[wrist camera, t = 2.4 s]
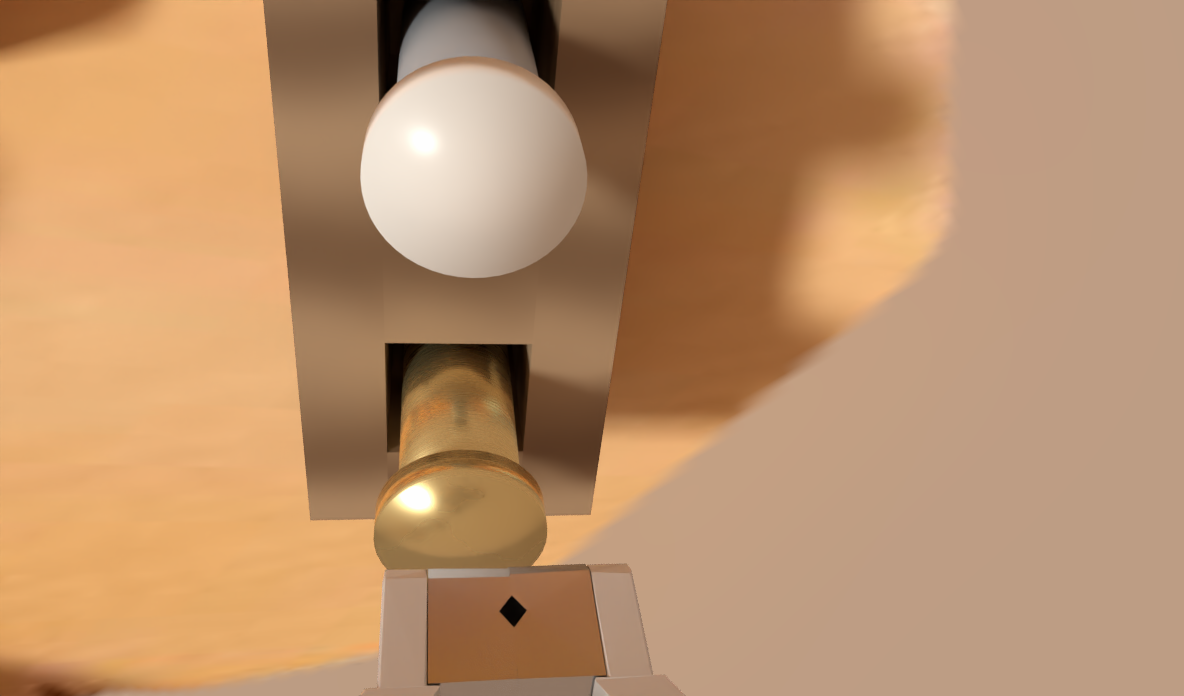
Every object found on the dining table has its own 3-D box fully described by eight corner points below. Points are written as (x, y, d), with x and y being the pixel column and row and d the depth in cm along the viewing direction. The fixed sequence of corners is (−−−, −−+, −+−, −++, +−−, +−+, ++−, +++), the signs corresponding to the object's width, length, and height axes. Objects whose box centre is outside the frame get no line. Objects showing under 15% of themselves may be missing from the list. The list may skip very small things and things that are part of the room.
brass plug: (517, 381, 37) (540, 591, 29) (388, 380, 36) (375, 596, 28) (526, 273, 34) (554, 474, 26) (386, 270, 34) (371, 476, 26)
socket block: (567, 379, 43) (590, 514, 36) (329, 378, 41) (310, 520, 35) (633, -192, 30) (687, -136, 23) (289, -227, 28) (246, -177, 22)
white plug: (539, 105, 31) (576, 280, 23) (382, 98, 30) (363, 276, 22) (551, -55, 28) (599, 80, 20) (378, -68, 27) (355, 67, 19)
